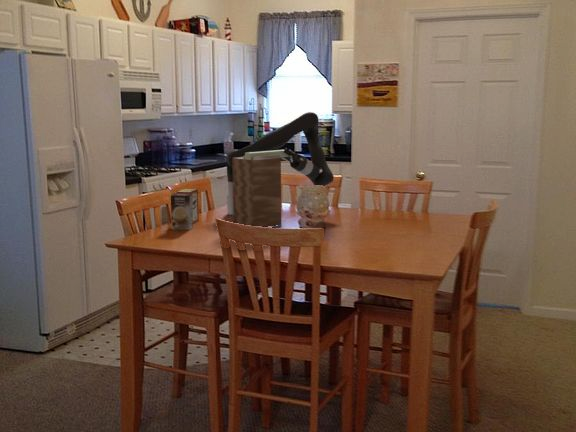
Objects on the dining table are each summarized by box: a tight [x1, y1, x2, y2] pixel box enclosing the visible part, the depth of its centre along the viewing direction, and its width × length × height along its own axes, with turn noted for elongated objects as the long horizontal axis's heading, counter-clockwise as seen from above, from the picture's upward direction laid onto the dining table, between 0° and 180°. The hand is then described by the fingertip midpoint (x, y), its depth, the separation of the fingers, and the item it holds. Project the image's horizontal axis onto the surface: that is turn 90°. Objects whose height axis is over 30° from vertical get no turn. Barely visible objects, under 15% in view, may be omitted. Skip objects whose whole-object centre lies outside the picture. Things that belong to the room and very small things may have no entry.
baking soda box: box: [176, 188, 200, 224], centre depth 310 cm, size 10×6×16 cm
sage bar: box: [245, 149, 292, 160], centre depth 296 cm, size 4×24×3 cm, turn 130°
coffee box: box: [170, 192, 194, 231], centre depth 295 cm, size 9×6×16 cm
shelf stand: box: [232, 155, 282, 227], centre depth 299 cm, size 16×16×34 cm
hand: (279, 149), depth 299 cm, fingers open, 8 cm apart
